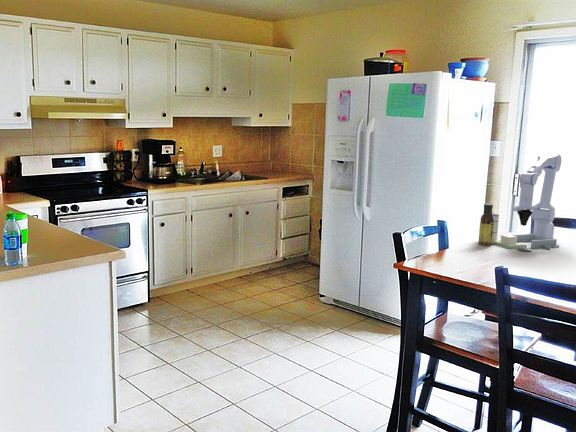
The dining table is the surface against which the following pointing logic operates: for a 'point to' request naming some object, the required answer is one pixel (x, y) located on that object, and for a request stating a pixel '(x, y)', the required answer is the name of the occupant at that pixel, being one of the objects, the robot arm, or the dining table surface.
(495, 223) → the syrup box
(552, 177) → the robot arm
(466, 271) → the dining table surface
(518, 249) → the hole marker
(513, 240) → the cube
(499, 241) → the pale green flat block
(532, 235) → the pale blue square frame
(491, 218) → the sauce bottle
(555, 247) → the crook tool
